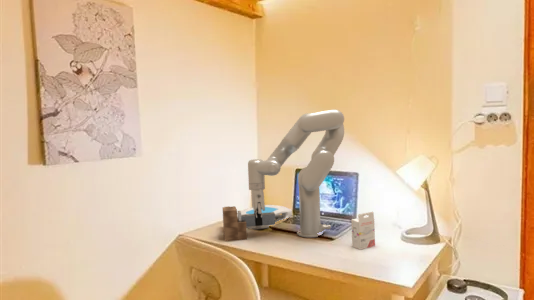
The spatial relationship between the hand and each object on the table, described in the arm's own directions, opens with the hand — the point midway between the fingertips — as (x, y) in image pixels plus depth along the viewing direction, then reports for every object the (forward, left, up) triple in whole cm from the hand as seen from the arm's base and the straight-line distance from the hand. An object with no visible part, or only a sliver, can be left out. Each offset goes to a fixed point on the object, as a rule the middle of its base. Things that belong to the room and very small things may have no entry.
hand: (258, 224), depth 180 cm
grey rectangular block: (0, 0, 0) cm, 0 cm away
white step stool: (-6, -24, -6) cm, 25 cm away
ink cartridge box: (-40, +28, -6) cm, 49 cm away
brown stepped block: (+11, -7, -6) cm, 14 cm away
